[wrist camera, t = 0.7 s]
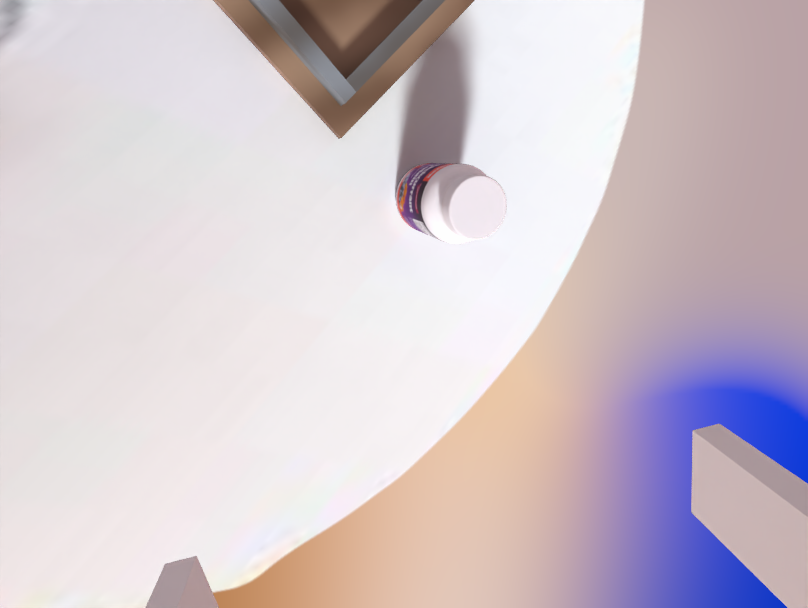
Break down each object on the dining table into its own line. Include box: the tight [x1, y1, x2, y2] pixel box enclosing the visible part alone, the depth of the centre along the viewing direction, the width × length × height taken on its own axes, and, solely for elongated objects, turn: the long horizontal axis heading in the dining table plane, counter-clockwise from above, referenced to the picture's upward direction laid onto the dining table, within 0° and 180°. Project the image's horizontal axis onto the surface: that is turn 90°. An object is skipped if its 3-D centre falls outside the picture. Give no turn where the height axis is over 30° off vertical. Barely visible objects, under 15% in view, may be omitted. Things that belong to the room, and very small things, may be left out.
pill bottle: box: [396, 163, 507, 244], centre depth 32 cm, size 5×5×10 cm
